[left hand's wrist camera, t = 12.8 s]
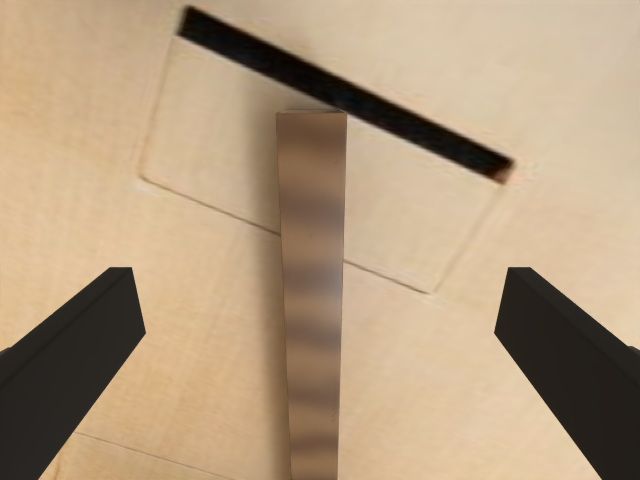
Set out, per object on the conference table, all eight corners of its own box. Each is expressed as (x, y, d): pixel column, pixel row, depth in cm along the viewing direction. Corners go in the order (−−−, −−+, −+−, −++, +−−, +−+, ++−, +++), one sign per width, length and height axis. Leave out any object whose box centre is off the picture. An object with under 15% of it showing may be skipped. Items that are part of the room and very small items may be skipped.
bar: (283, 109, 32) (275, 113, 25) (339, 109, 32) (347, 113, 25) (300, 587, 59) (298, 655, 52) (330, 587, 59) (332, 654, 52)
